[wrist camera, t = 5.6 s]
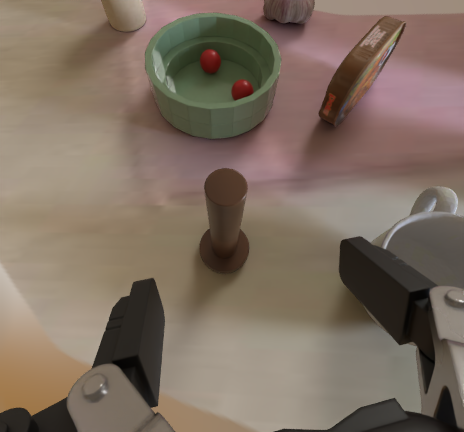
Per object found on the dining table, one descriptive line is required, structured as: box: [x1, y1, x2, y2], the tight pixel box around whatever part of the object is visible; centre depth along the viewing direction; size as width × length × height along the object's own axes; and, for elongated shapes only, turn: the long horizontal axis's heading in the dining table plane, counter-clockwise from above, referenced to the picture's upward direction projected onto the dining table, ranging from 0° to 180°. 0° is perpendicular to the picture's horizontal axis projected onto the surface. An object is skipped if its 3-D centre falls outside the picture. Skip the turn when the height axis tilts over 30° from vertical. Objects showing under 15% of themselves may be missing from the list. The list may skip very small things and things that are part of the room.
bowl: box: [145, 13, 281, 139], centre depth 33 cm, size 16×16×6 cm
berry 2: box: [231, 79, 254, 101], centre depth 33 cm, size 3×3×3 cm
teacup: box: [363, 186, 464, 346], centre depth 23 cm, size 14×11×8 cm
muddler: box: [200, 168, 249, 274], centre depth 21 cm, size 5×5×14 cm
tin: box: [319, 16, 406, 126], centre depth 32 cm, size 15×3×8 cm, turn 141°
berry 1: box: [200, 49, 221, 74], centre depth 35 cm, size 3×3×3 cm
